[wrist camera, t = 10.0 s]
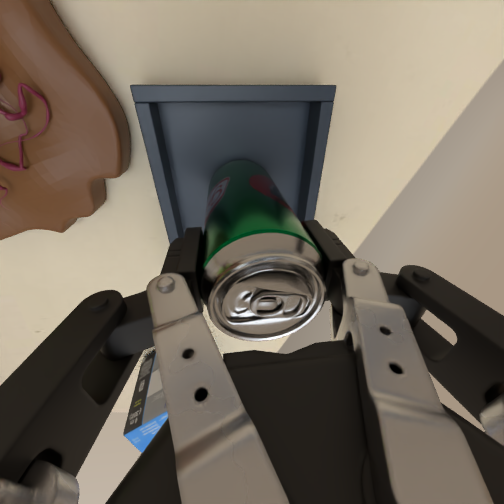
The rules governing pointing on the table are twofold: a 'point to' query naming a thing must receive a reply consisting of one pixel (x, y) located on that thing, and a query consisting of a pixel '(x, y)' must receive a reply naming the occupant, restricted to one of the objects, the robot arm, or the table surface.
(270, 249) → the soda can
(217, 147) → the container
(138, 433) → the label tape box
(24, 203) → the plant
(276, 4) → the table surface
